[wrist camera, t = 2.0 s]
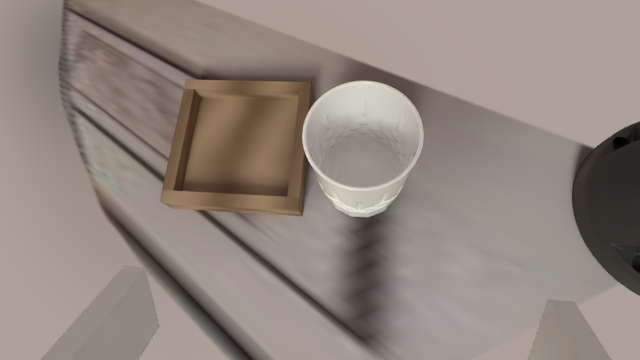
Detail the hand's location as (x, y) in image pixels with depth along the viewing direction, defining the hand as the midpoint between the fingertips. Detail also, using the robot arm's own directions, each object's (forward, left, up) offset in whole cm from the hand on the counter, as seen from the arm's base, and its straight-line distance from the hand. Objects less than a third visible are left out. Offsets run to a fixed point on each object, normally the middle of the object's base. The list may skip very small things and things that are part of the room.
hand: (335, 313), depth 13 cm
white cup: (0, -11, -20) cm, 23 cm away
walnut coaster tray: (+11, -14, -19) cm, 26 cm away
